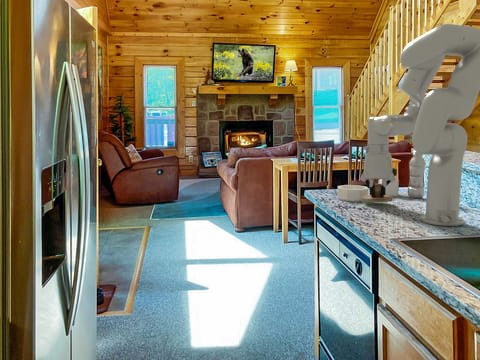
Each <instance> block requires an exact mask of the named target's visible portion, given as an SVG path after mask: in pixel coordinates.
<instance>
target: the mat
mask: <svg viewBox="0 0 480 360" xmlns="http://www.w3.org/2000/svg"><path fill="white" fill-rule="evenodd" d="M360 202H361V203H360V204H361V206H362V207H367V208H391V205H390V204H389V203H388V202H369V201H360Z"/></svg>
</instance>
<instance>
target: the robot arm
mask: <svg viewBox="0 0 480 360" xmlns="http://www.w3.org/2000/svg"><path fill="white" fill-rule="evenodd" d="M446 56H450V57H451V56H452V57H453V56H454V57H455V56H456V57H460V58H461V60H460V61H459V62H457V63H458V64H457V65H456V66H455V67H454V69H453V70H452V73H451V75H450V80H449V82H448V84H447V87H437V88H435V89H431V91H429V92H428V90H429V88H430V86H431V85H432V82H433V81H434V79H435V77H436V75H437V74H438V72H439V69H440V68H441V66H442V65H443V62H444V60H445V58H446ZM399 59H400V64H401V66H402V67H403V68H404V69H407V72H406V74H405V76H404V77H403V79H402V82H401V84H400V88H401V90H402V92H404V93H405V94H407V95H408V96H409V104H408V106H407V109H406V110H405V112H404V114H387V115H381V116H371V117H369V118H368V120H367V144H366V146H363V150H364V151H367V152H366V153H365V156H364V162H363V172H362V173H361V175H360V178H359V180H360V181H361V182H364V183H366V185H367V186H368V187H369V195H371V197H374V187H373V184H374V180H379V179H382V195H381V197H382V198H384V195H385V194H386V186H387V185H388V184H389V183H390V182H392V181H394V180H396V179H397V177H396V178H395V176H394V174H393V173H392V168H393V160H392V154H391V152H389V146H390V145H389V143H390V142H389V141H390V140H389V137H396V136H409V135H410V134H412V137H411V143H412V147H413V149H414V150H416V151H417V152H418V153H420V154H423V155H426V156H429V155H430V156H431V155H432V156H431V158H430V160H429V164H428V170H427V183H426V185H427V186H426V202H425V203H426V204H425V205H426V206H425V214H421V215H420V218H419V219H420V221H421V222H423V223H425V224H429V225H435V226H441V227H457V226H462V225H463V224H464V223H465V220H464V219H463V218H462V217H460V216H459V214H460V201H461V186H462V175H463V162H464V157H465V152H466V149H467V145H468V134H467V131H466V130H465V128H464V127H463V126H461V125H460V124H457V123H453V122H447V121H459V120H465V119H467V118H468V117H469V116H470V115H471V114H472V113H473V111H474V109H475V108H474V107H475V105H476V102H477V99H478V96H479V94H480V28H478V27H474V26H469V25H462V24H461V25H460V24H454V23H444V24H440V25H437V26H435V27H433V28H432V29H429V31H427V32H425V33H423V34H422V35H420V36H418V37H416V38H415V39H413V40H412V41H410V42H409V43H408V44H406V46H405V47H404V48H403V50H402V51H401V53H400V57H399ZM427 92H428V93H427ZM426 93H427V94H426ZM386 179H388V180H387V181H386Z"/></svg>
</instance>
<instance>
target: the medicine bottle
mask: <svg viewBox="0 0 480 360" xmlns="http://www.w3.org/2000/svg"><path fill="white" fill-rule="evenodd" d="M397 171H398V170H397V168H395V167H392V173H393V174H394V176H395V178H396V180H394V181H392V182H390V183H389V184H388V185H387V186H386V194H385V195H386V196H391V197H394V196H395V197H399V189H400V180H399V179H397V177H398V176H397V174H398V172H397ZM387 180H388V179H386V181H387ZM378 184H382V179H378Z"/></svg>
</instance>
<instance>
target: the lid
mask: <svg viewBox="0 0 480 360" xmlns="http://www.w3.org/2000/svg"><path fill="white" fill-rule="evenodd" d="M373 187H374V197H371V195H370V194H368V195H366V196H363V200H364V201H369V202H387V203H388V202H392V201H393V197H394V196H386V195H384V198H382V197H381V195H382V184H379V183H373Z"/></svg>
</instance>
